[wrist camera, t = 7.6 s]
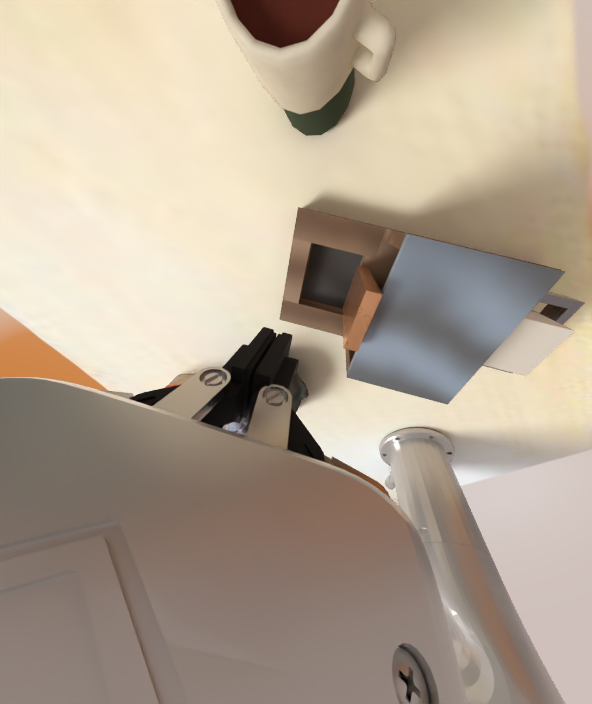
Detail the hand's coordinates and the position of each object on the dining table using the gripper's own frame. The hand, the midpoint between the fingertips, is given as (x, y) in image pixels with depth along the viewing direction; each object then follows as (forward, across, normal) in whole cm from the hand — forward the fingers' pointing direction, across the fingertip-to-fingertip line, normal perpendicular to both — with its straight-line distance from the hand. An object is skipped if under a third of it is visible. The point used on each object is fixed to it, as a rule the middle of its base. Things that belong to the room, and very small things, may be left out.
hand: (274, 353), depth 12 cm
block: (+16, -20, -1) cm, 25 cm away
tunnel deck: (+18, -11, -1) cm, 21 cm away
